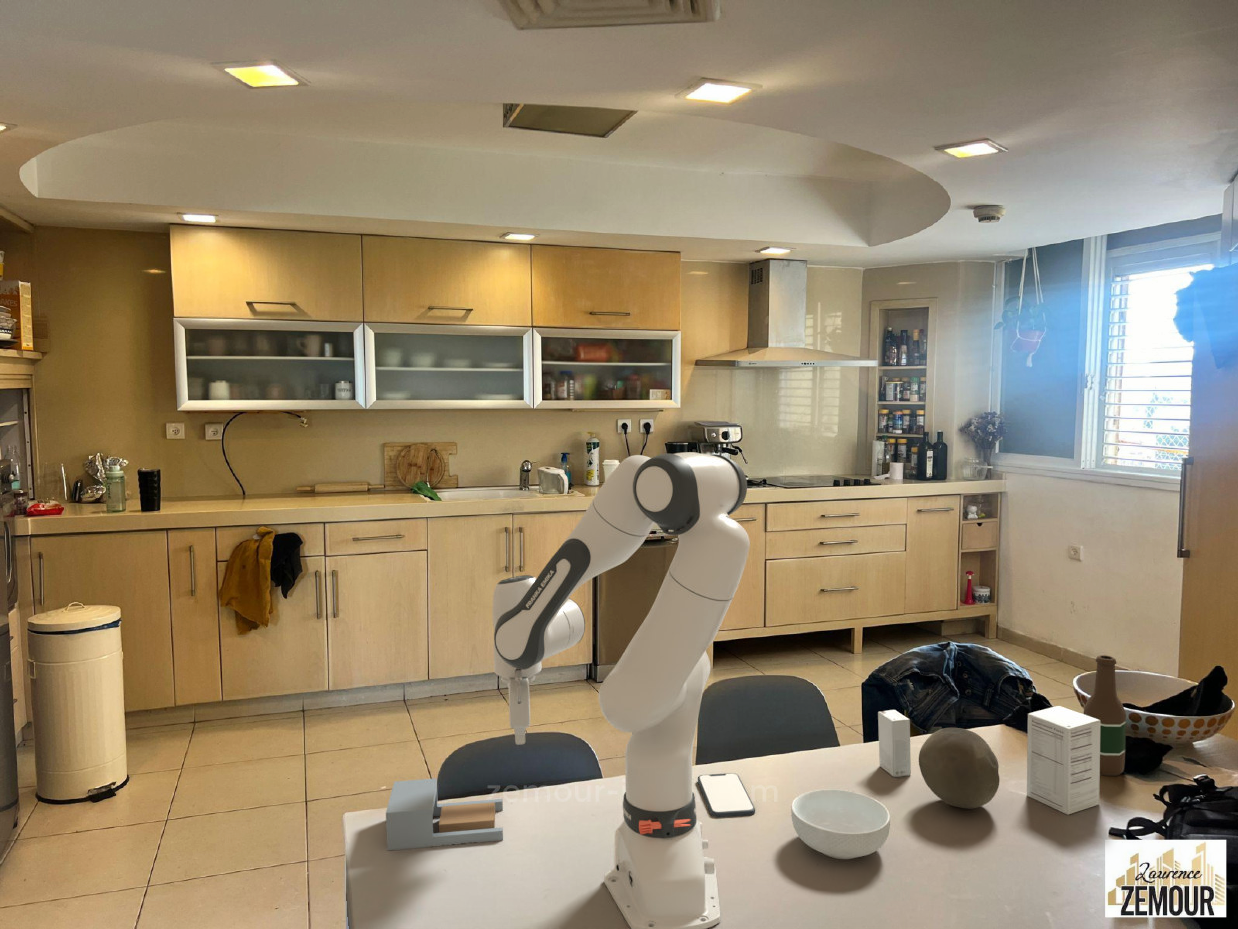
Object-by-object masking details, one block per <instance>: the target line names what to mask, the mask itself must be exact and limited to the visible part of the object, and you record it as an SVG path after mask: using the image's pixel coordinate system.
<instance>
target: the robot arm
mask: <svg viewBox="0 0 1238 929" xmlns="http://www.w3.org/2000/svg"><path fill="white" fill-rule="evenodd" d="M747 480H748V479H747V477H746V474H745V472H744V470H743V469H742V467H741V466H740V465H739V464H738V463H737V462H736V461H735V460H732V459H731V458H729V457H726V456H724V455H720V454H714V453H713V454H707V453H699V452H693V451H692V452H691V451H689V452H687V451H686V452H685V451H684V452H676V453H661V454H658V455H655V456H653V457H649V456H647V455H642V454H635V455H630V456H627V458H625V459H623V460H622V461H621V462H620V463H619V464H618V465H617V466H616V468H615V469H613V471H612V472H611V473H610V474H609V476H608V477H607V478H606V480H605V481H604V482H603V484H602V485H601V486H600V488H599V489H598V491H597V493H596V494H595V495H594V498H593V499H592V501H591V503H590V504H589V505H588V507H587V509H586V510H585V512H584V514H583V516H582V517H581V518H580V520H579V521H578V523H577V524H576V526H575V527H574V528H573V530H572V531H571V533H570V534H569V535H568V536H567V538H566V539H565V541H563V543H562V544H561V546H560V547H559V548H558V549H557V551H556V552H555V553H554V554H553V556H552V557H551V558H550V560H548V562H547V563H546V565H545V566H544V568H543V569H542V570H541V572H540V573H539V574H538V576H537V577H535V576H534V575H529V574H527V575H526V574H524V575H516V576H514V577H509V578H505V579H502V580H500V581H499V582H498V583H496V585H495V587H494V591H493V595H492V626H493V630H494V633H493V672H494V673H495V674H496V676H498V677H500V681H501V682H502V683H504V684H506V685H507V687H508V713H509V714H508V715H509V716H508V717H509V720H508V721H509V726H510V728H511V729H514V741H515V744H516V746H517V745H524V744H525V743H526V730H527V729H528V728H529V727H530V726H531V707H530V705H531V703H530V702H531V701H530V684H529V683H531V682H534V681H535V679H536V675H537V674H539V673H540V672H541V671H542V668H543V667H542V661H544V660H546V659H548V658H550V657H554V656H555V655H558V654H559V653H562V652H563V651H566V650H569V649H570V648H572V647H574V646H575V645H577V644H579V643H580V642H581V640H582V639H583V637H584V634H585V630H586V619H585V615H584V613H583V610H582V608H581V607H580V606H579V605H578V603H577V602H575V601H574V600H573V599H572V598H571V596H572V595H573V594H574V593H575V592H576V590H578V589H579V588H580V587H581V586H583V585H584V584H586V583H587V582H588V581H590V580H591V579H593V578H595V577H597V576H599V575H600V574H602V573H604V572H607V571H609V570H611V569H613V568H616V567H617V566H619V565H621V564H623V563H625V562H626V561H627V560H629V559H630V557H632V556H633V555H634V553H635V552H637V550H639V549H640V547H641V545H643V544H644V542H645V540H646V539H647V537H648V536H649V534H650V533H651V531H652V529H653V528H654V526H655V525H657V526H658V528H660V530H661V531H662V532H663V533H664V534H666V535H668V536H678V546H677V548H676V551H675V553H674V556H673V559H672V561H671V562H670V565H669V567H668V570H667V572H666V574H665V576H664V578H663V582H662V584H661V586H660V588H659V591H658V593H657V595H656V597H655V600H654V602H653V604H652V606H651V608H650V610H649V612H648V613H647V615H646V617H645V618H644V620H643V622H642V623H641V625H640V626H639V628H638V630H637V631H636V633H634V635H633V637H632V639H631V640H630V642H629V643H628V645H627V647H626V649H624V651H623V653H622V655H621V657H620V658H619V660H618V661H617V663H616V664H615V666H614V668H613V669H611V671H610V672H609V674H608V675H607V676H606V677H605V679H603V682H602V683H601V685H600V687H599V691H598V702H599V703H598V704H599V707H600V710H601V713H602V715H603V717H604V719H606V721H607V722H608V723H609V724H610V725H611V726H612V727H613V728H614V729H617V731H620V732H623V733H628V734H630V733H631V735H630V737H629V738H628V741H627V743H626V747H625V751H624V752H625V753H624V767H625V768H624V769H625V770H624V771H625V792H624V793H623V801H622V812H623V821H622V823H621V824H620V826H618V827H617V829H616V830H615V831H614V860H613V861H614V862H613V863H614V866H613V869H611V870H609V871H608V872H606V874H604V879H603V880H604V881H603V882H604V885H605V886H606V887H607V890H608V892H609V893H610V895H611V897H612V898H613V900H614V902H615V904H616V905H617V907H618V909H619V910H620V912H621V915H623V917H624V920H626V922H627V924H628V925H629V927H630V929H708V928H711V927H714V926H715V925H718V924H719V923H720V922H721V919H722V918H721V908H720V900H719V897H720V896H719V891H718V890H719V889H718V879H717V870H716V865H715V859H714V858H710V857H708V856H704V851H703V849H704V850H707V849H709V839H706V838H705V839H703V823H702V822H701V821H699V820H698V819H697V803H696V796H695V793H694V791H693V752H694V743H695V742H694V741H695V735H696V730H697V725H698V721H699V720H698V719H699V714H700V709H701V708H700V707H701V703H702V697H703V694H704V691H705V687H706V684H707V683H708V681H709V677H710V674H711V661H710V658H709V655H708V654H707V650H708V648H709V647H710V645H711V644H712V643H713V642H714V640H715V639H716V636H717V634H718V633H719V630H720V628H721V625H722V624H723V621H724V619H725V616H726V615H727V613H728V611H729V608H730V606H731V604H732V602H733V599H734V597H735V595H736V592H737V590H738V588H739V586H740V583H741V580H742V577H743V573H744V571H745V569H746V564H747V560H748V556H749V552H750V546H751V542H750V541H751V540H750V537H749V534H748V532H747V531H746V529H745V528H744V527H743V526H742V525H741V524H740V523H739V522H738V521H736V520H734V519H733V518H731V517H730V515H732V514H733V513H735V512H736V511H738V509H739V508H740V507H742V505H743V503H744V501H745V499H746V496H747V493H748V492H747V491H748V481H747Z"/></svg>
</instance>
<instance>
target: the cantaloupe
mask: <svg viewBox="0 0 1238 929" xmlns="http://www.w3.org/2000/svg"><path fill="white" fill-rule="evenodd" d="M918 753H919V754H918V766H919V770H920V773H921V776H922V777H923V778H922V779H923V780H924V783H925V785H926V786H927V788H929V789H930V791H931V792H932V793H933V794H934V795H935V796H936V797H938V799H941V801H942V802H944V803H945V804H947V805H949V806H952V807H955V808H960V809H961V808H962V809H968V810H969V809H971V810H972V809H977V808H980V807H983V806H985V805H986V804H988V803H990V802H991V801H992V800H993V798H995V796H996V794H997V792H998V789H999V786H1000V774H999V761H998V758H997V757H996V755H995V752H994V751H993V750H992V749H991V747H990V745H989V744H988V743H987V741H985V739H984V738H983V737H982V736H980V734H977V733H976V732H974V731H972V730H969V729H967V728H961V727H959V728H958V727H945V728H940V729H938V730H936V731H934V732H933V733H931V734H930V736H929V737H928V738H926V740H925V741H924V742H923V744H922V746H921V748H920V750H919V752H918Z"/></svg>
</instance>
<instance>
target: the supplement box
mask: <svg viewBox="0 0 1238 929" xmlns="http://www.w3.org/2000/svg"><path fill="white" fill-rule="evenodd" d="M1026 750H1027V753H1026V754H1027V755H1026V756H1027V757H1026V758H1027V760H1026V796H1027V797H1030V798H1031V799H1034V800H1036V801H1037V802H1040V803H1042V804H1045V805H1046V806H1048V807H1050V808H1052V809H1055V810H1056V811H1058V812H1061V813H1063V814H1065V815H1067V816H1069V815H1071V814H1074V813H1077V812H1080V811H1083V810H1086V809H1090V808H1092V807H1095V806H1098V805H1100V781H1101V780H1100V776H1101V775H1100V720H1098V719H1095V718H1092V717H1090V716H1087V715H1084V714H1083V713H1081V712H1078V711H1076V710H1072V709H1069V708H1067V707H1063V706H1061V705H1057V706H1055V705H1054V706H1052V707H1047V708H1044V709H1041V710H1040V709H1039V710H1036V711H1033V712H1029V713H1027V749H1026Z"/></svg>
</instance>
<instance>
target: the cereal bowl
mask: <svg viewBox="0 0 1238 929" xmlns="http://www.w3.org/2000/svg"><path fill="white" fill-rule="evenodd" d="M790 807H791V809H790V810H791V812H790V813H791V815H790V816H791V822H792V825H793V828H794V831H795V832H796V835H797V836H798V838H800V840H801V841H803V842H802V843H804V844H806V845H807V846H808V847H810V848H811V849H813V850H815V851H817V852H819V853H822V854H823V855H825V856H827V857H829V858H833V859H837V860H852V859H855V858H859V857H863V856H864V857H866V856H868V855H871V854H873V853H875V852H876V851H878V850H879V849H881V847H882V846H884V844H885V843H886V841H887V839H888V837H889V833H890V828H891V827H890V826H891V817H890V816H891V815H890V812H889V810H888V808H886V806H885V805H884V804H883V803H882V802H880V801H878V800H876V799H875V798H873V797H871V796H868V795H866V794H863V793H860V792H856V791H851V790H845V789H836V788H834V789H833V788H824V789H817V790H811V791H807V792H804V793H802V794H799V795H798V796H796V797H795V799H793V801H792V803H791V806H790Z"/></svg>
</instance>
